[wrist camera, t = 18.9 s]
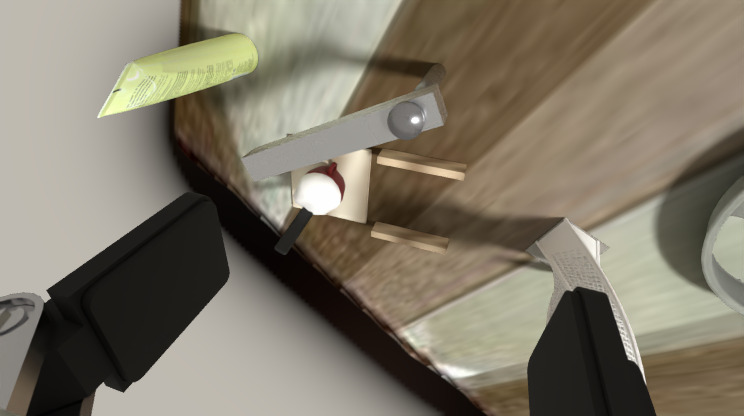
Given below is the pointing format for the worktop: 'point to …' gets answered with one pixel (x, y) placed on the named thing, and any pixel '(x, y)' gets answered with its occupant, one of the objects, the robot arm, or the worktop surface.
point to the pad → (346, 183)
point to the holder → (424, 166)
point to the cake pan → (735, 202)
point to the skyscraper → (581, 273)
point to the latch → (354, 130)
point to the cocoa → (313, 200)
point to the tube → (181, 72)
